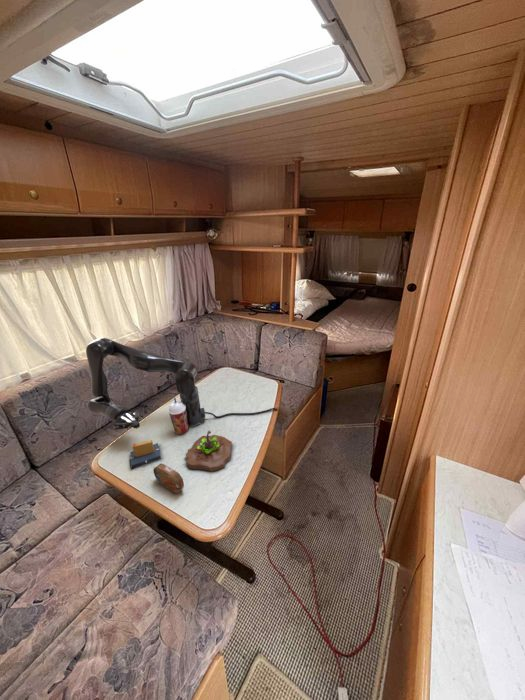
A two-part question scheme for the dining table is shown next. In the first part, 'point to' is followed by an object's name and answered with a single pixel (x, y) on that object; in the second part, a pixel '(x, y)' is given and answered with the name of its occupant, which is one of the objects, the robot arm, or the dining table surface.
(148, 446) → the tap lever
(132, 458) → the tap plate
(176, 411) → the smoothie
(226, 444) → the plant
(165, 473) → the tin
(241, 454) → the dining table surface
